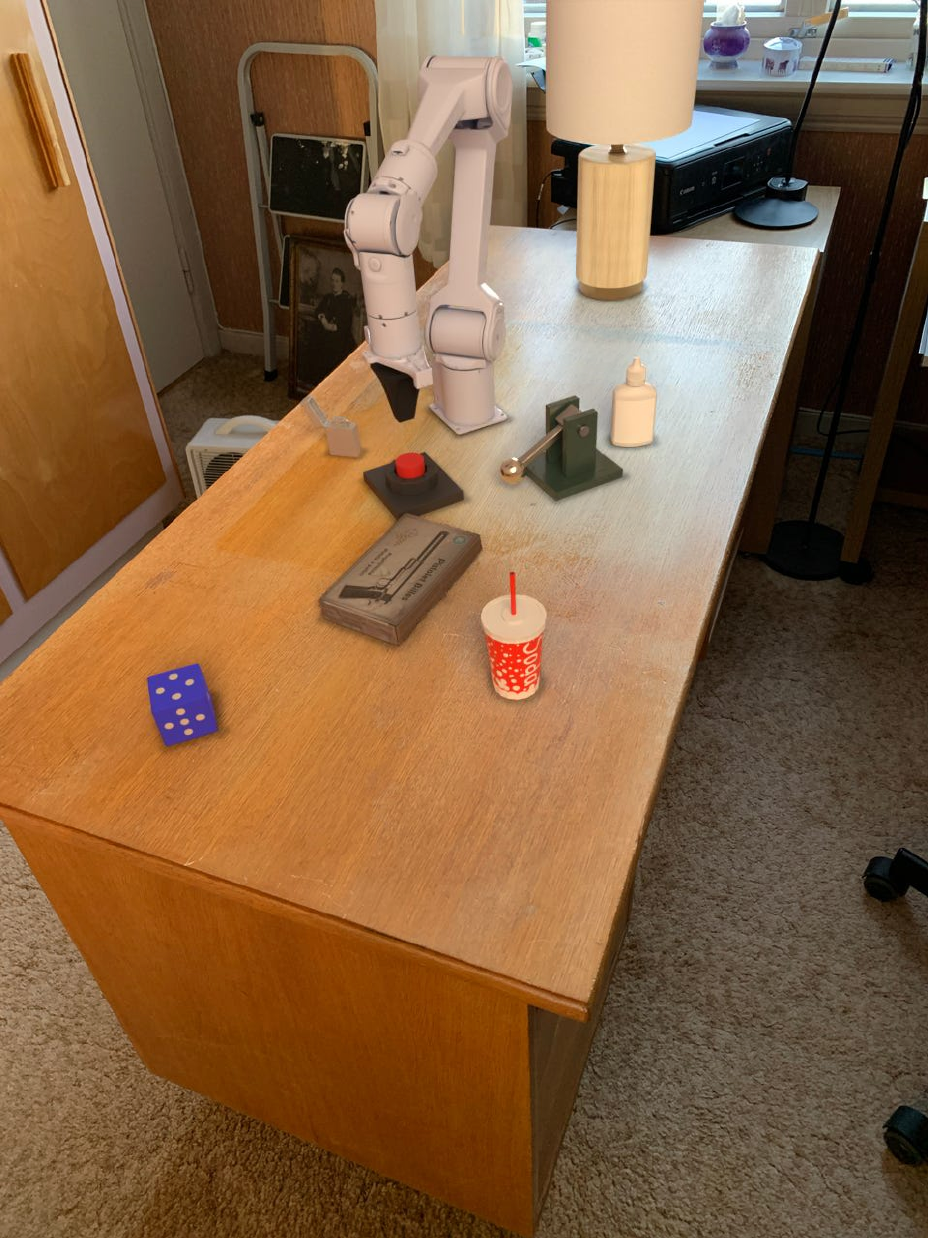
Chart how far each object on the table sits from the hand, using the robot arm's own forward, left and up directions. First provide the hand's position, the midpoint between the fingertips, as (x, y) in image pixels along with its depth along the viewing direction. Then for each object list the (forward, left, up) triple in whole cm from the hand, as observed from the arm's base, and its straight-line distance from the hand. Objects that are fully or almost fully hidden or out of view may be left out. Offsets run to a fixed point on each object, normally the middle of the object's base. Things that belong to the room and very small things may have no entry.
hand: (404, 418), depth 110 cm
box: (+17, -9, -11) cm, 22 cm away
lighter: (-14, -5, -11) cm, 19 cm away
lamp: (-38, +57, -11) cm, 70 cm away
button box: (0, 0, -10) cm, 10 cm away
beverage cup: (+37, -6, -11) cm, 38 cm away
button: (0, 0, -8) cm, 8 cm away
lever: (+7, +15, -6) cm, 18 cm away
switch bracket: (+8, +19, -10) cm, 23 cm away
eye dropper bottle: (+6, +30, -11) cm, 32 cm away
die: (+25, -36, -11) cm, 45 cm away
